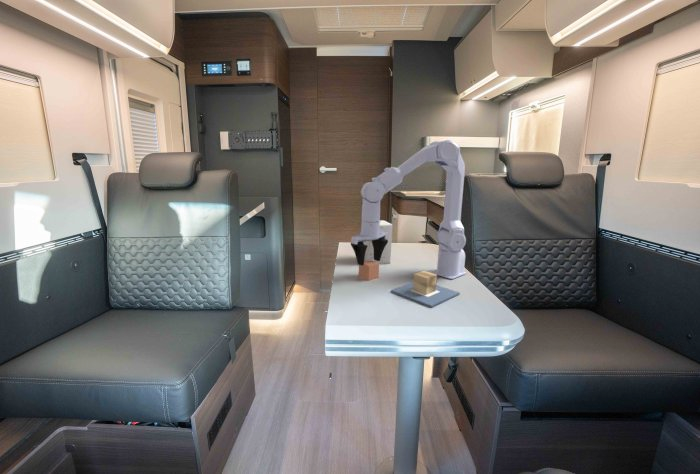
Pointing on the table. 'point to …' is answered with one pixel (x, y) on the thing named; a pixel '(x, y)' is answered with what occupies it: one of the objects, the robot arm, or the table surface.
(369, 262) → the terracotta block
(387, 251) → the supplement box
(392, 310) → the table surface
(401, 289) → the board
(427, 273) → the oak block
